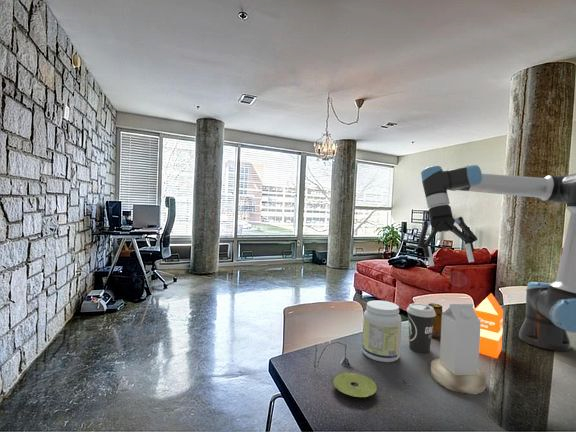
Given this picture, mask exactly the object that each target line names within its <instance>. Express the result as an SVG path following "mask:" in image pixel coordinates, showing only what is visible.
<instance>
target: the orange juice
mask: <svg viewBox="0 0 576 432" xmlns="http://www.w3.org/2000/svg"><path fill="white" fill-rule="evenodd" d="M473 309H474V311H475V313H476V315H477V316H478V318H479V320H480V322H481V327H480V348H479V355H480V354H482V355H485V356H488V357H491V358H493V359H494V358H495V359H498V358H499V355H500V354H501V352H502V348H503V347H502V346H503V343H502V342H503V330H504V329H503V324H504V309H503V308H502V306H501V305H500V304H499V302H498V300H497V299H496V297H495V296H494V294H493V293H492V292H491V293H489V294H488V296H486V297H485V299H483V300H482V301H481V302H480V303H479V304H478V305H477V306H476V307H475V308H473Z"/></svg>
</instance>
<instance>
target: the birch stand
mask: <svg viewBox="0 0 576 432" xmlns="http://www.w3.org/2000/svg"><path fill="white" fill-rule="evenodd" d="M430 377H431V378H432V379H433V381H435V383H437V384H438V383H439V384H438V385H440V386H441V387H443V386H444V388H446V389H448V390H450V391H453V392H456V393H459V392H460V394H464V393H467V394H466V395H474V394H473V393H480V392H483V391H484V390H485V389H486V390H487V375H486V373H485V372H484V370H482V369H481V368H479V369H478V375H454V374H453V373H451V372H450V371H449V370H448V369H447V368H445V367H444V366H443V365H442V364H441V363H440V357H439V358H438V357H437V358H435V359H433V360H431V361H430ZM486 390H485V391H486ZM485 391H484V392H485ZM484 392H483V393H484Z"/></svg>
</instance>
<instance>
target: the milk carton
mask: <svg viewBox="0 0 576 432" xmlns="http://www.w3.org/2000/svg"><path fill="white" fill-rule="evenodd" d="M474 309H475V308H474V304H473V303H449V307H448V308H447V309H446V310H445V311H442V321H441V340H440V345H439V347H440V348H439V358H440V363H441V364H442V365H443V366H444V367H445V368H447V369H448V370H449V371H450V372H451V373H453V374H454V375H478V369H480V367H479V365H480V353H479V348H480V327H481V322H480V320H479V318H478V316H477V315H476V313H475V311H474Z"/></svg>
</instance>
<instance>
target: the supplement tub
mask: <svg viewBox="0 0 576 432" xmlns="http://www.w3.org/2000/svg"><path fill="white" fill-rule="evenodd" d="M365 308H366V310H365V311H364V313H363V327H362V352H363V354H364V356H366V357H367V358H369V359H371V360H373V361H376V362H381V363H392V362H395V361H397V360H398V359H399V358H400V355H401V339H402V316H401V315H400V314H399V313H400V306H399V305H398V304H397V303H394V302H391V301H387V300H379V299H378V300H369V301H367V302H366V307H365Z"/></svg>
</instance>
